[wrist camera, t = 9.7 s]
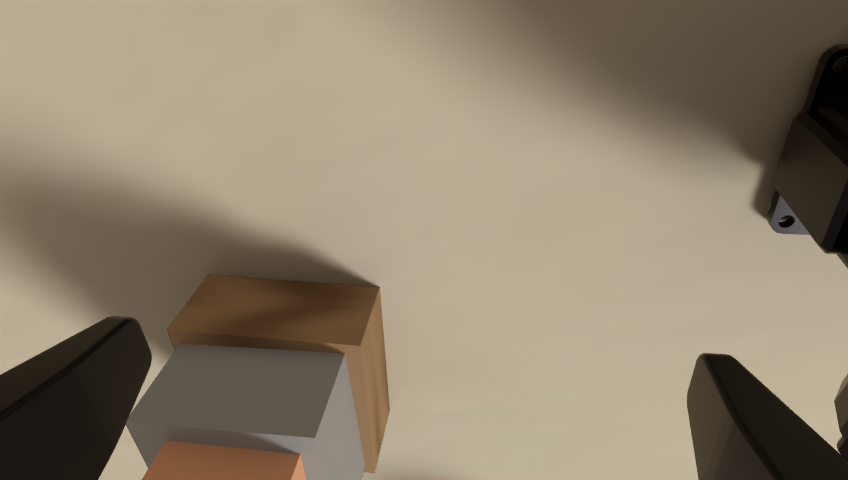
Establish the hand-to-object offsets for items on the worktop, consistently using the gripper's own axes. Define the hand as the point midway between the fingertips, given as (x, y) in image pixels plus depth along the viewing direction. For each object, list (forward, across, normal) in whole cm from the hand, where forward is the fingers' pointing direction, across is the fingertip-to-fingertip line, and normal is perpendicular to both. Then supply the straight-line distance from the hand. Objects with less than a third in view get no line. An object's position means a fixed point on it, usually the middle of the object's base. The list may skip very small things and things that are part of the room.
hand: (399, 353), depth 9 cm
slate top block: (+9, +8, +13) cm, 18 cm away
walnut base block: (+13, +8, +13) cm, 20 cm away
